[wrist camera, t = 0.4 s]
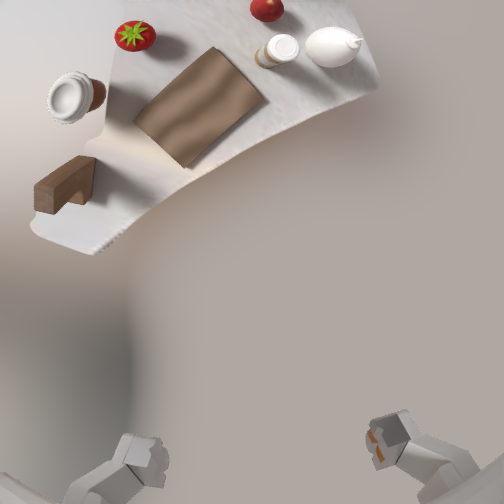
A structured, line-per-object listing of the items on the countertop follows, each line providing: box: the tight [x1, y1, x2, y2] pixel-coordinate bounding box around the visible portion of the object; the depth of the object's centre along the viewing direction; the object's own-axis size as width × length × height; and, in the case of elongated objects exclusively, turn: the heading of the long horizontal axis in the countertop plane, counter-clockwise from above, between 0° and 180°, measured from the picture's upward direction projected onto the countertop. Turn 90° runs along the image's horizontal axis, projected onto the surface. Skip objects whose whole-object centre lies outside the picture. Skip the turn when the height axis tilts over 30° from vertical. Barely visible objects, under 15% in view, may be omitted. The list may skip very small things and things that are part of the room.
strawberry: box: [115, 21, 156, 52], centre depth 31 cm, size 6×8×10 cm
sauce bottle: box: [305, 27, 364, 68], centre depth 33 cm, size 8×8×18 cm
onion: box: [250, 0, 284, 22], centre depth 32 cm, size 6×6×8 cm
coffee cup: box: [47, 72, 106, 124], centre depth 33 cm, size 9×9×12 cm
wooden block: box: [34, 155, 96, 215], centre depth 40 cm, size 9×4×18 cm, turn 160°
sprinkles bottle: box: [255, 34, 300, 68], centre depth 35 cm, size 5×5×14 cm
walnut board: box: [133, 46, 264, 168], centre depth 44 cm, size 14×20×2 cm
